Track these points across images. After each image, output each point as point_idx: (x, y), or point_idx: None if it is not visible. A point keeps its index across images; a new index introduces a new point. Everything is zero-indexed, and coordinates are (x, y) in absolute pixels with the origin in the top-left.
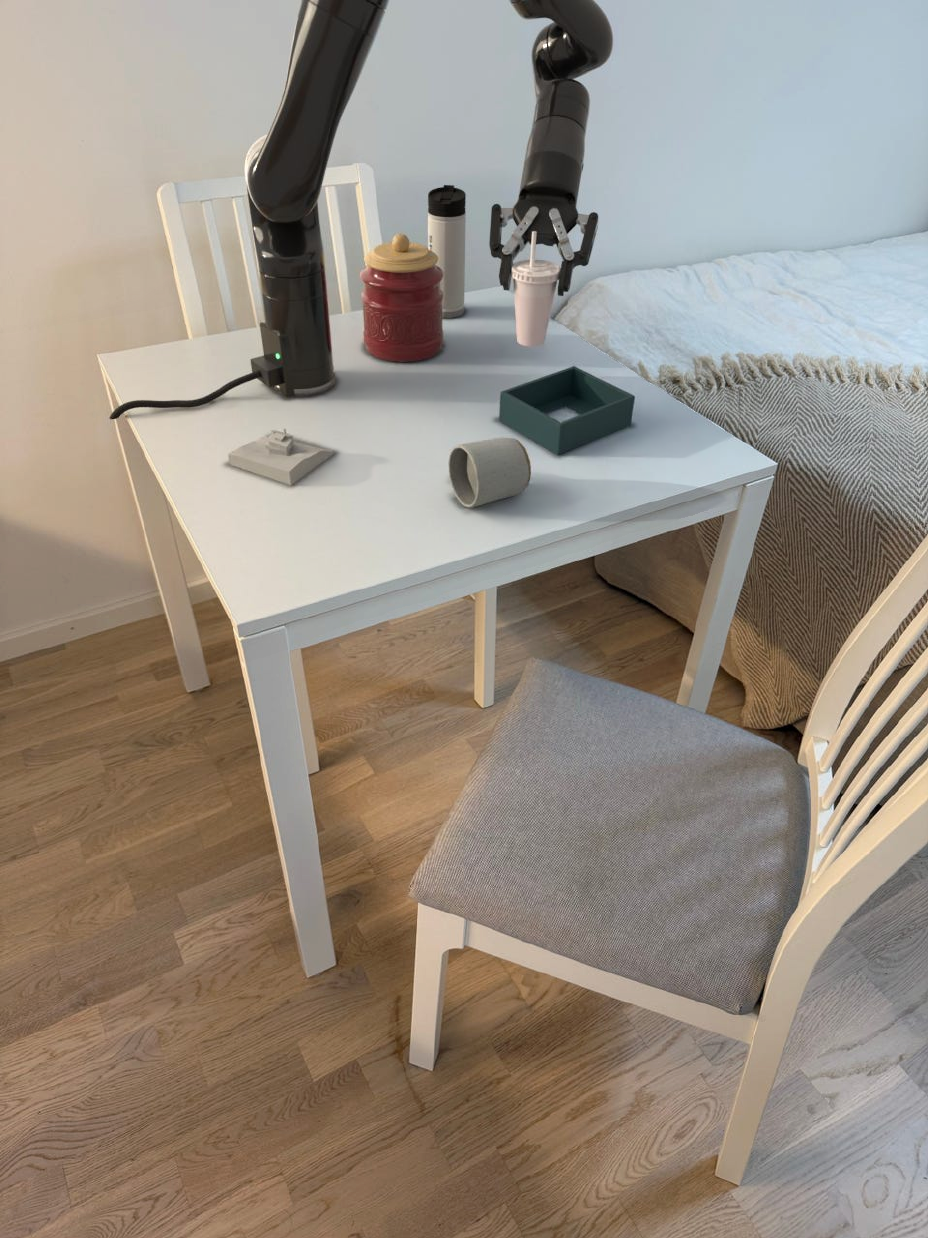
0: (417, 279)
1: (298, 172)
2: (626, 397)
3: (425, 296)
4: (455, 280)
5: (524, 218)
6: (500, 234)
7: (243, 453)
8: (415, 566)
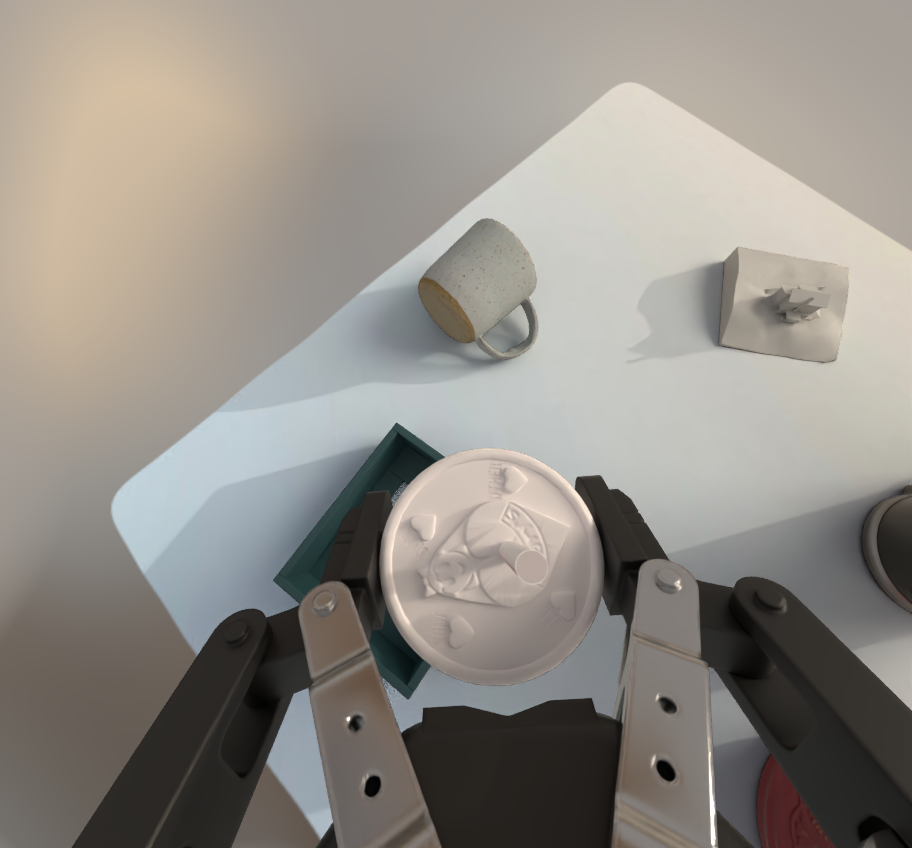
0: None
1: None
2: (289, 567)
3: None
4: None
5: (705, 831)
6: (802, 745)
7: (829, 272)
8: (512, 175)
